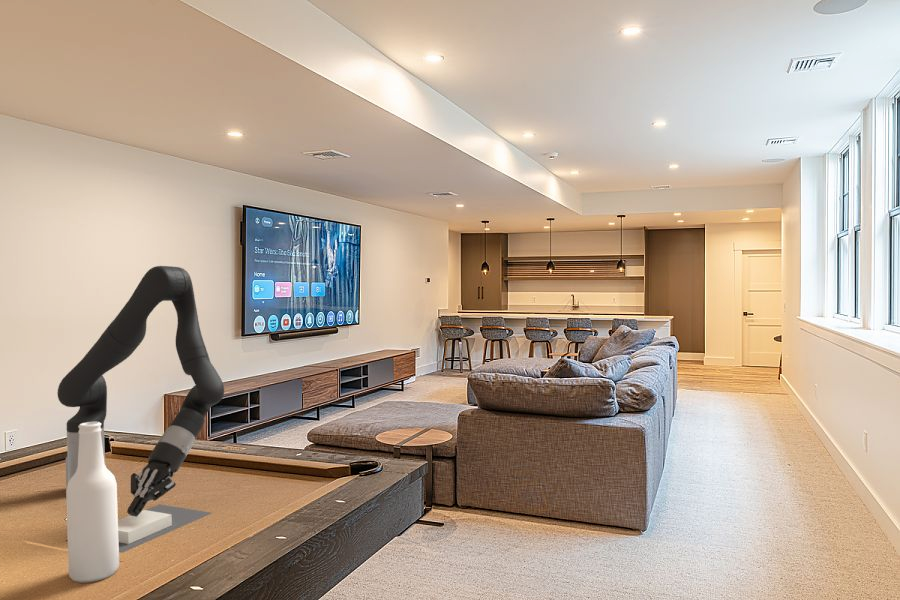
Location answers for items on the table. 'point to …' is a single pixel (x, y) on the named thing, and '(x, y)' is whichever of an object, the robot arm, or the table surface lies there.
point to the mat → (178, 520)
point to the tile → (142, 525)
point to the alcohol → (92, 512)
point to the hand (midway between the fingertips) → (131, 514)
